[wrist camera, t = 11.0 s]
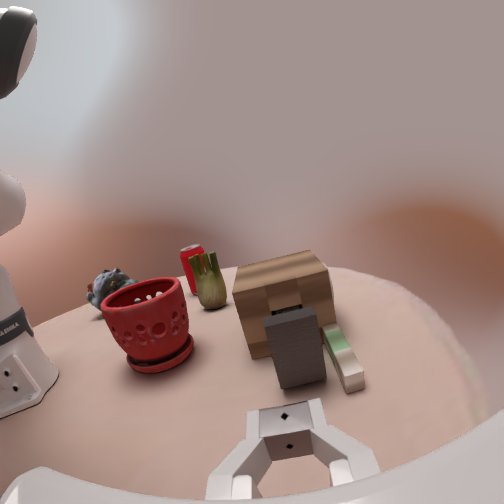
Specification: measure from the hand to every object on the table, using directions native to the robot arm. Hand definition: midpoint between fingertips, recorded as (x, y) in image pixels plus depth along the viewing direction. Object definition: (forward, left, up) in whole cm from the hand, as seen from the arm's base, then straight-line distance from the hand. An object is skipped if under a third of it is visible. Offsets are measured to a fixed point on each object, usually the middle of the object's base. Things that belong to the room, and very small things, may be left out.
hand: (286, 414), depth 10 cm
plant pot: (+10, +33, -13) cm, 37 cm away
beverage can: (+35, +51, -13) cm, 63 cm away
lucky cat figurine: (+19, +69, -13) cm, 73 cm away
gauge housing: (+19, +14, -12) cm, 27 cm away
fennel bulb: (+28, +39, -13) cm, 50 cm away
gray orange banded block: (+19, +13, -11) cm, 26 cm away
